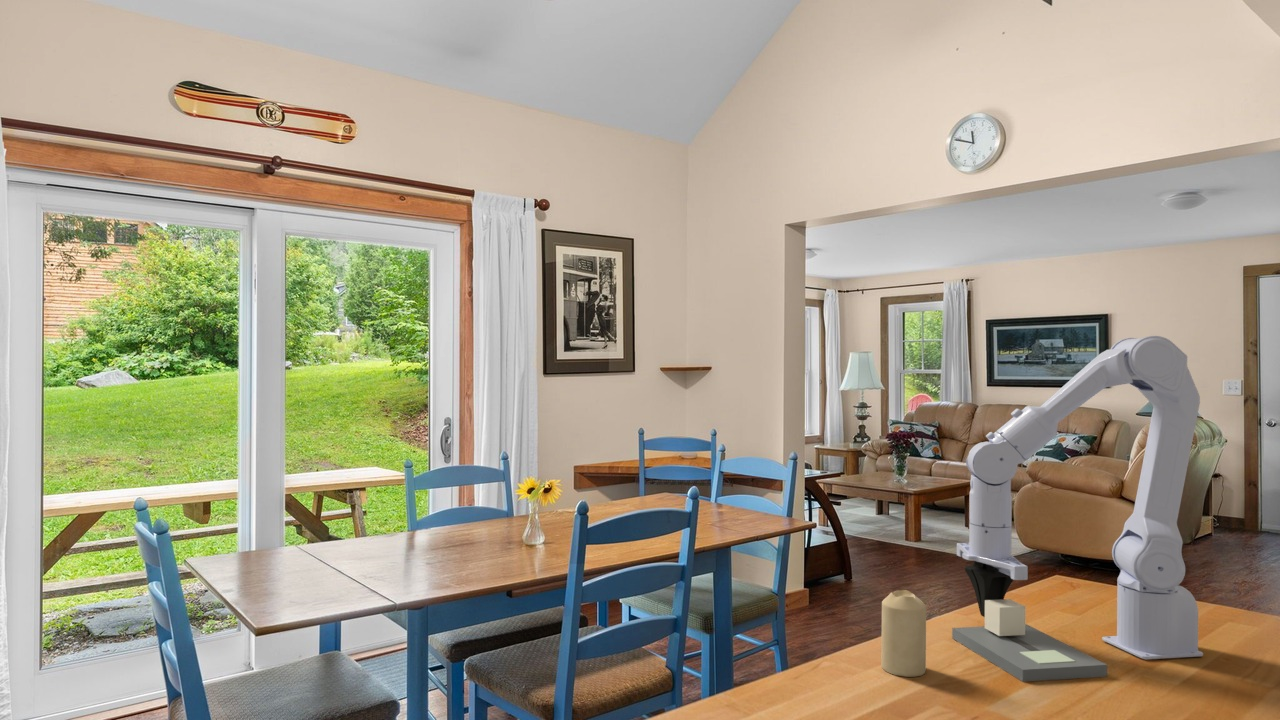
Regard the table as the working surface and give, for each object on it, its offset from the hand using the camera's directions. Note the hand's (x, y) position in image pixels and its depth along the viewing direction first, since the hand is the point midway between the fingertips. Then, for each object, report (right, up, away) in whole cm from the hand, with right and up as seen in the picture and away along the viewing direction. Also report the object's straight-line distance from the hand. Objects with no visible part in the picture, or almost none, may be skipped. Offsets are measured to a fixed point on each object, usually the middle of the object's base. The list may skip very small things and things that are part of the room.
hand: (989, 616), depth 117 cm
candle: (-17, -3, -13) cm, 22 cm away
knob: (+1, -1, -4) cm, 4 cm away
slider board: (+1, -3, -8) cm, 9 cm away
